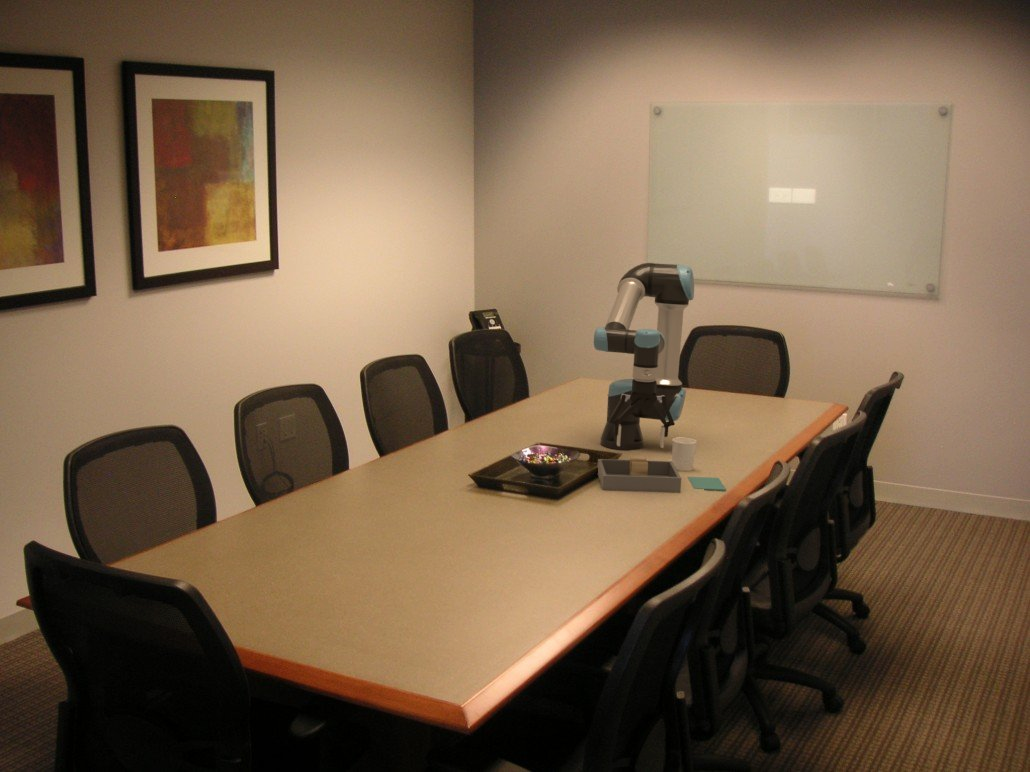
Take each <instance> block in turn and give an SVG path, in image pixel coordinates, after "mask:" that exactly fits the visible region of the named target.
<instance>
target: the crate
mask: <svg viewBox="0 0 1030 772" xmlns="http://www.w3.org/2000/svg"><path fill="white" fill-rule="evenodd" d="M647 462H648V473H647V476H629V471H630V459H611V458H598V459H597V468H598V473H597V476H598V480H599V482H600V486H601V489H602V491H624V492H650V493H652V492H657V493H681V487H682V476H681V475H680V473H679V472H678V471H679V470H677V469H676V467H675V466H674V464H673V461H672V460H670V461H669V460H647Z"/></svg>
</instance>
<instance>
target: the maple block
mask: <svg viewBox="0 0 1030 772" xmlns="http://www.w3.org/2000/svg"><path fill="white" fill-rule="evenodd" d="M629 460H630V471H629V476H647V473H648V462H647V461H648V460H647V458H636V457H635V458H633V457H631V458H629Z"/></svg>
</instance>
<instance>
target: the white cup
mask: <svg viewBox="0 0 1030 772" xmlns="http://www.w3.org/2000/svg"><path fill="white" fill-rule="evenodd" d="M671 441H672V444H671V446H672V447H671V461H672V462H673V464H674V466H675V467H676V469H677V471H679V472H681V471H682V472H690V471H693V469H694V463H695V457H696V450H697V439H694V438H691V437H685V436H678V437H674V438H672V440H671Z"/></svg>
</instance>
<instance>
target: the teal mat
mask: <svg viewBox="0 0 1030 772" xmlns="http://www.w3.org/2000/svg"><path fill="white" fill-rule="evenodd" d="M687 479H688V481H689V483H690V484H691V486H692V488H693V489H694V490H703V491H705V490H713V491H712V492H726V491H727V488H726V487H725V486H724V484H723V482H722V481H721V480H720V478H719V477H709V476H708V477H707V476H706V477H705V476H687ZM714 490H716V491H714Z"/></svg>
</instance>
